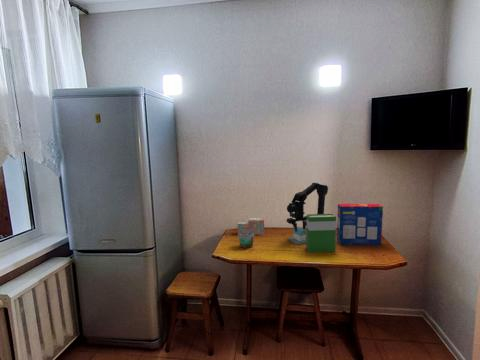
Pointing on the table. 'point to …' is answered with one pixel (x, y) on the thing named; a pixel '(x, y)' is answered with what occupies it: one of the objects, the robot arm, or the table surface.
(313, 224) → the green cereal box
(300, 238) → the cream brick
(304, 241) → the baseplate
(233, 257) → the table surface
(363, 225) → the blue product box
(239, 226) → the stack of blocks
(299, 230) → the teal brick
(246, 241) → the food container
